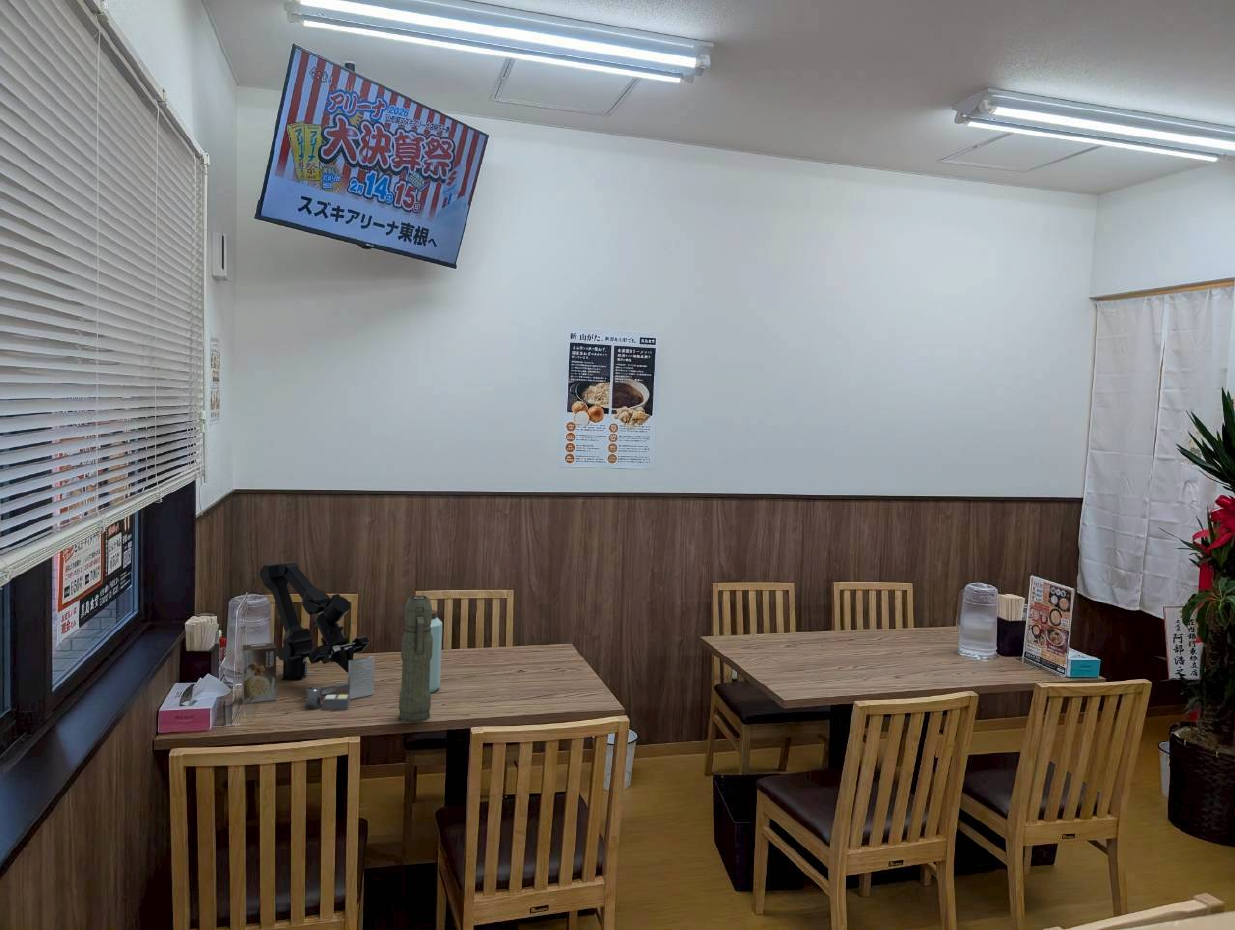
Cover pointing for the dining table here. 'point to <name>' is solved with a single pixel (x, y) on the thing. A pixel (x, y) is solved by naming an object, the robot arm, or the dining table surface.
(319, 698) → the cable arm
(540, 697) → the dining table surface
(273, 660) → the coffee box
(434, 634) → the water bottle
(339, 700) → the block
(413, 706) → the thermos
